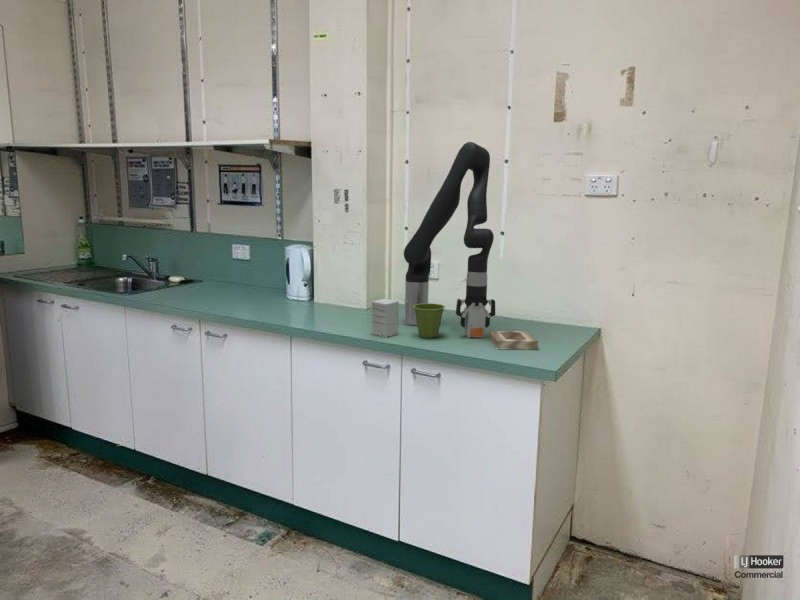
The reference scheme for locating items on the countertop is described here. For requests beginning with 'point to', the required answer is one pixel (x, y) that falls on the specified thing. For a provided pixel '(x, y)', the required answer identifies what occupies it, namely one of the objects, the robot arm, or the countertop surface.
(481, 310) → the skincare box
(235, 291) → the countertop surface
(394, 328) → the supplement box
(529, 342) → the birch plinth
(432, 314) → the plant pot
